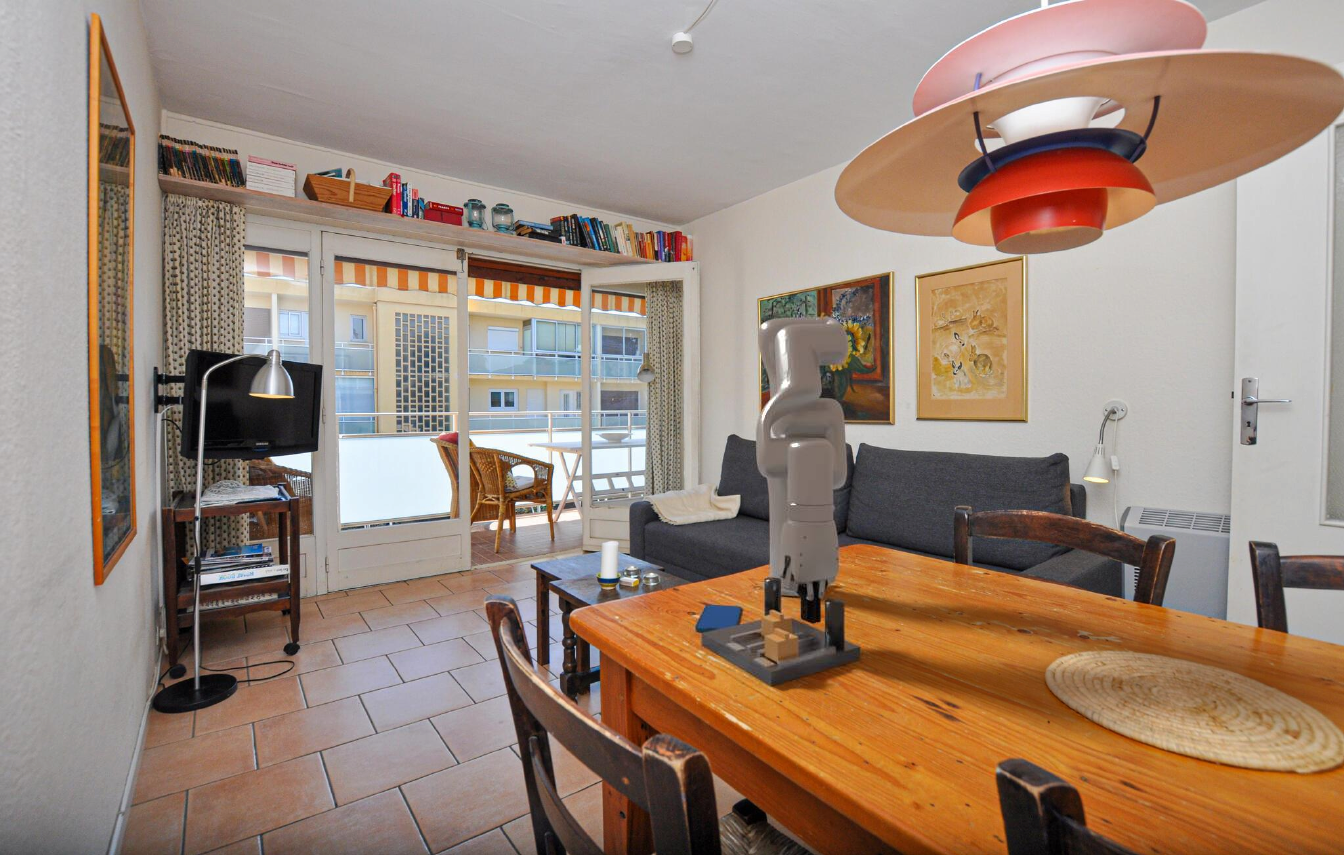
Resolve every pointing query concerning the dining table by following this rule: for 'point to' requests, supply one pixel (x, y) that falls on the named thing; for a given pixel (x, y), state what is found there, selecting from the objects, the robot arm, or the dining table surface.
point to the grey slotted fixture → (813, 644)
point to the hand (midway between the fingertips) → (810, 620)
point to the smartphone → (718, 617)
